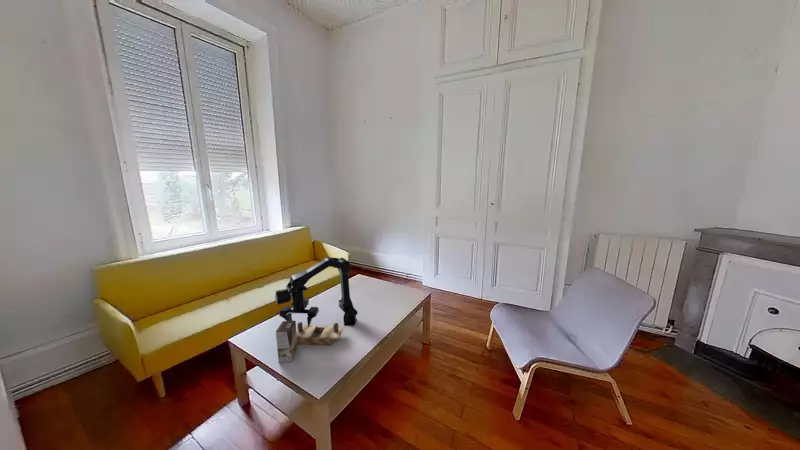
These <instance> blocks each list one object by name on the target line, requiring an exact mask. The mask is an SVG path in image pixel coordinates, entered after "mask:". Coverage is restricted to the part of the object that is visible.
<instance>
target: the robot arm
mask: <svg viewBox="0 0 800 450" xmlns="http://www.w3.org/2000/svg"><path fill="white" fill-rule="evenodd" d="M329 267H333V268H337V270H338V271H337V272H339V276H340V277H339V280H340V289H341V291H340V292H341V299H339V300H338V307H339V308H340V310H341V311H342V312H343V313H344V314H343V326H351V327H352V326H356V324H357V320H358V319H357V315H358V310H356V308H355V307H354V304H353V301H352V299H351V295H350V280H349V275H350V272H351V263H350V261H348V260H347V259H346V258H345V257H340V258H339V257H332V256H331V257H329V256H326V257H325V258H324V259H321V261H318V263H316V264H314V265H312V266H311V267H309V268H307V269H305V270H304V271H303V270H302V271H299V272H297V273H295V274H292V275H291V276H290V279H289V280H288V281H289V282H288V283H287V285H286V287H285V289H279V290H275V295H274V299H275V302H276V303H275V304H276V305H277V306H278V305H282V304H286V303H289V302H291V301H292V302H291V306H292V307H291V306H287V305H285V306H283V307H282V308H281V309H280V310H279V312H278V317H281V318H282V319H284V321H293V318H292V317H293V316H292V314H307V317H306V320H307V325H308V327H309V326H310V325H311V323H312V320H313V319H314V318H316V317H317V315H318V313H319V312H320V311H319V307H318V306H310V307H309V309H306V308H307V307H308V306H309V303H310V302H309V301H310V299H309V298H305V294H304V292H305V291H307V290H308V287H307V285H306V284H307V283H308V282H309V280H310V279H311V278H313V277H315V276H317V275H318V274H320V273H321V272H323V271H324V270H326V269H328V268H329Z"/></svg>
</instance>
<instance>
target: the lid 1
mask: <svg viewBox="0 0 800 450" xmlns="http://www.w3.org/2000/svg"><path fill="white" fill-rule="evenodd" d="M316 327H318V325H317V324H310V326H309V327H308V324H303V322H302V321H299V322H298V323H297V326H296V334H297V338H311V336H312V334H313V332H314V331H315V329H316Z"/></svg>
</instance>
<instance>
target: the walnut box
mask: <svg viewBox="0 0 800 450" xmlns="http://www.w3.org/2000/svg"><path fill="white" fill-rule="evenodd" d="M324 328H325V326H317V327H316V329H315V331H314V332H313V334H312V336H311V338H297V346H326V347H328V346H329V347H331V345H332V343H333V341H334V339H323V338H320V336H321V334H322V332H323V330H324Z"/></svg>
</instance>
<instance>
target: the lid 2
mask: <svg viewBox="0 0 800 450" xmlns="http://www.w3.org/2000/svg"><path fill="white" fill-rule="evenodd" d="M344 326H345V325H339V323H338V322H335V323H333V325H325V326H324V327H325V328H324V330H323V332H322V334H321V336H320V338H323V339H333V340H336V339H337V340H340V339H341V336H342V333H343V331H344V328H345V327H344Z"/></svg>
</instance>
